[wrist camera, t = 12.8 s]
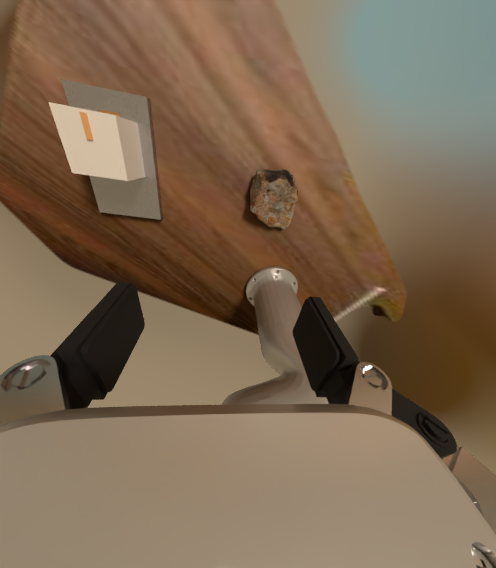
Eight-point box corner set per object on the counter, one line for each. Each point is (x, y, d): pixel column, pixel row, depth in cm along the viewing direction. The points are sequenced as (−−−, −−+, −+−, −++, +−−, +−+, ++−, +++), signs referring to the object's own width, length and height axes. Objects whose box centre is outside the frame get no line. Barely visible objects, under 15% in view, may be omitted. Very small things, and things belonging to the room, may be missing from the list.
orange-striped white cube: (145, 176, 29) (127, 181, 24) (99, 170, 28) (70, 173, 23) (137, 123, 26) (114, 114, 21) (84, 112, 25) (46, 101, 20)
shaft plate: (162, 217, 34) (155, 224, 31) (103, 210, 33) (88, 216, 29) (150, 99, 25) (137, 90, 22) (68, 82, 24) (40, 69, 20)
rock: (245, 171, 31) (248, 231, 35) (258, 164, 26) (259, 236, 30) (290, 171, 34) (288, 227, 38) (310, 164, 28) (305, 231, 32)
